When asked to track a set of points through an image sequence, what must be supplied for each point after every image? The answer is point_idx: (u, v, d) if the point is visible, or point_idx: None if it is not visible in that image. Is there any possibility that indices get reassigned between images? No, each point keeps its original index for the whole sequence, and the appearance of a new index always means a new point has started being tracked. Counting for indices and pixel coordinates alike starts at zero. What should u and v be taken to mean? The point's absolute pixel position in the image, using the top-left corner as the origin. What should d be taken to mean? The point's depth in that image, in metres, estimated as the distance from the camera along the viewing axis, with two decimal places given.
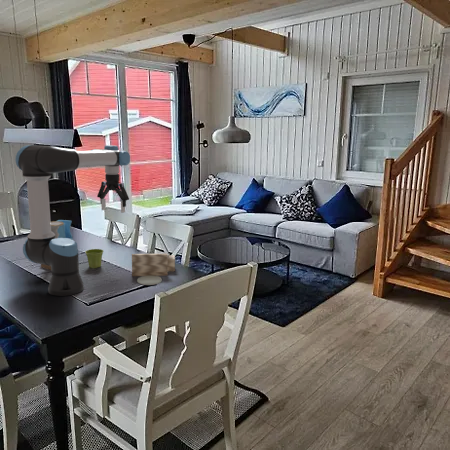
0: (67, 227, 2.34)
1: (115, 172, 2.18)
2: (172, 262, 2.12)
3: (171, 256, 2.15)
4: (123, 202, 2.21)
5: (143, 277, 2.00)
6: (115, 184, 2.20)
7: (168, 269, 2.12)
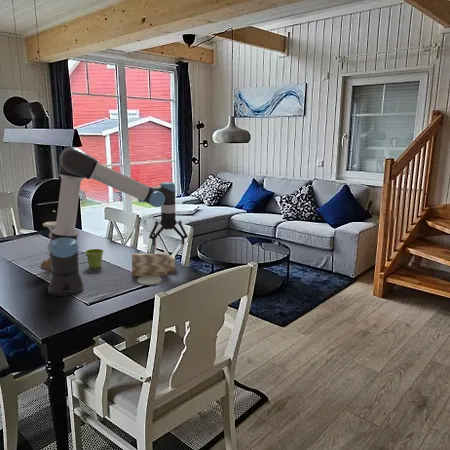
0: None
1: (174, 210, 2.08)
2: (172, 262, 2.12)
3: (171, 256, 2.15)
4: (183, 240, 2.13)
5: (143, 277, 2.00)
6: (173, 222, 2.10)
7: (168, 269, 2.12)
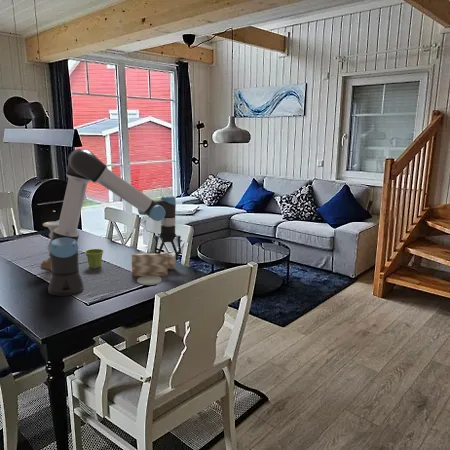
0: None
1: (174, 223, 2.09)
2: (172, 259, 2.11)
3: (170, 254, 2.15)
4: (176, 256, 2.14)
5: (143, 277, 2.00)
6: (173, 235, 2.11)
7: (167, 266, 2.12)
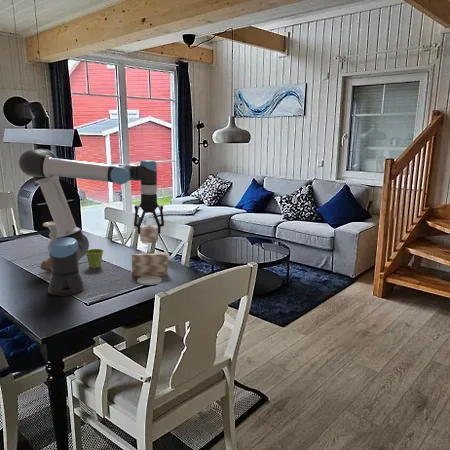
0: None
1: (156, 191, 1.87)
2: (153, 232, 1.89)
3: (152, 226, 1.93)
4: (159, 228, 1.92)
5: (143, 277, 2.00)
6: (155, 205, 1.89)
7: (149, 240, 1.90)
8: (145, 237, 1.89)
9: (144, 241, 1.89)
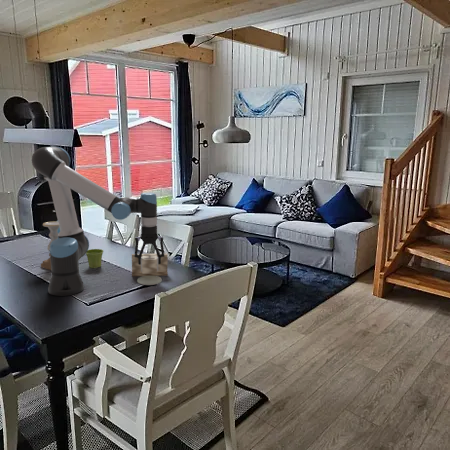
0: None
1: (156, 223, 1.91)
2: (154, 263, 1.92)
3: (153, 257, 1.96)
4: (159, 259, 1.95)
5: (143, 277, 2.00)
6: (155, 237, 1.92)
7: (149, 271, 1.93)
8: (146, 267, 1.92)
9: (145, 271, 1.93)
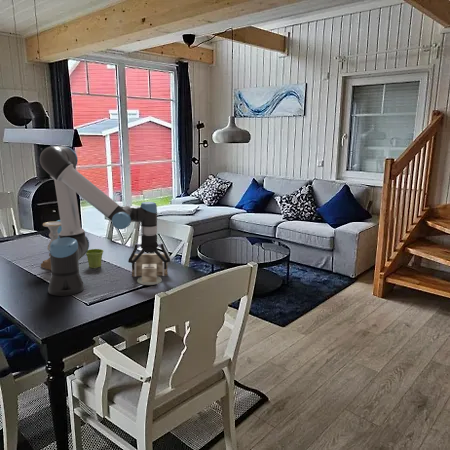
0: None
1: (156, 232, 1.92)
2: (153, 271, 1.93)
3: (153, 265, 1.97)
4: (165, 264, 1.96)
5: None
6: (155, 245, 1.93)
7: (149, 279, 1.94)
8: (146, 276, 1.93)
9: (145, 280, 1.94)
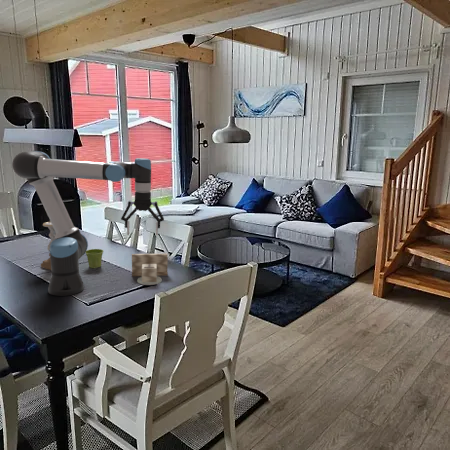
0: None
1: (149, 189, 1.88)
2: (153, 271, 1.93)
3: (153, 265, 1.97)
4: (158, 223, 1.93)
5: None
6: (148, 203, 1.90)
7: (149, 279, 1.94)
8: (146, 276, 1.93)
9: (145, 280, 1.94)
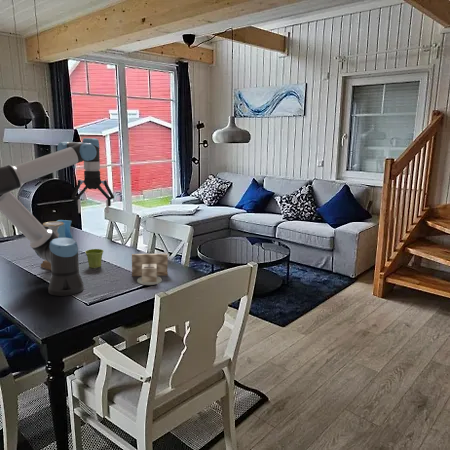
0: (67, 227, 2.34)
1: (98, 168, 1.94)
2: (153, 271, 1.93)
3: (153, 265, 1.97)
4: (109, 201, 1.99)
5: None
6: (98, 182, 1.96)
7: (149, 279, 1.94)
8: (146, 276, 1.93)
9: (145, 280, 1.94)
